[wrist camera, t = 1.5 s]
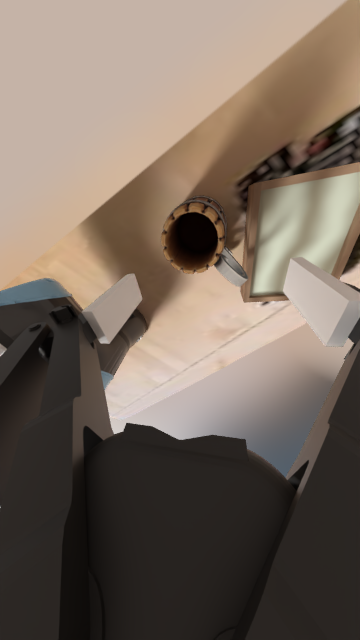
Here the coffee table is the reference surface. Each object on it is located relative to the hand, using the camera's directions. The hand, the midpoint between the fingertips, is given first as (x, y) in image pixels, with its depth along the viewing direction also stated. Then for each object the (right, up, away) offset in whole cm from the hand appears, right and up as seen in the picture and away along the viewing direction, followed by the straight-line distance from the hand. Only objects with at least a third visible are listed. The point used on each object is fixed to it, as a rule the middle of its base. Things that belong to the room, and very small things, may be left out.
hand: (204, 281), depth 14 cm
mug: (+4, +14, +19) cm, 24 cm away
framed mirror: (+19, +12, +17) cm, 28 cm away
